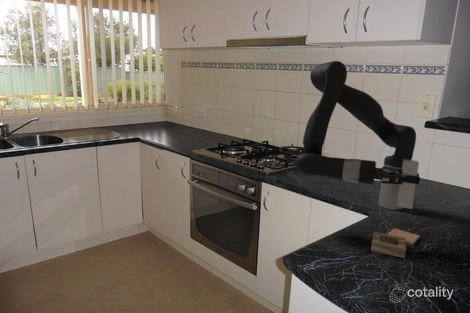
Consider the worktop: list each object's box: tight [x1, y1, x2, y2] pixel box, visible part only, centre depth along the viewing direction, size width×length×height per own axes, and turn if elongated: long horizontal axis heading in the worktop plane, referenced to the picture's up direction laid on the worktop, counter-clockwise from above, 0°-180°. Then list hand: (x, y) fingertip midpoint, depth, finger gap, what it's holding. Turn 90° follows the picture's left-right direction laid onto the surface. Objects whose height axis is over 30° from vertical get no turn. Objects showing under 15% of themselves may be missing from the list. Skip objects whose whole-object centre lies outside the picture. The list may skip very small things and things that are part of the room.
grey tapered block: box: [397, 159, 420, 210], centre depth 108 cm, size 4×4×14 cm
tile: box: [387, 228, 420, 246], centre depth 114 cm, size 8×8×1 cm
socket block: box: [370, 231, 407, 259], centre depth 106 cm, size 9×9×2 cm
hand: (418, 178), depth 106 cm, fingers closed on grey tapered block, 4 cm apart
